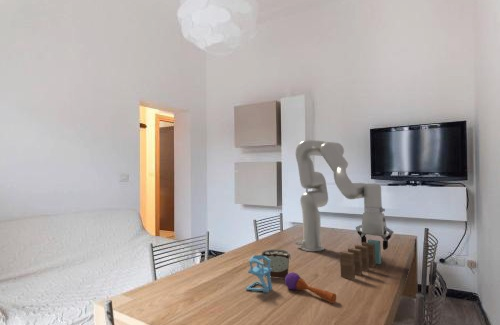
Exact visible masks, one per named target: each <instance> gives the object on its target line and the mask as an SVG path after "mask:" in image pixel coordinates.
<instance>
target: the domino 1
mask: <svg viewBox="0 0 500 325" xmlns="http://www.w3.org/2000/svg"><path fill="white" fill-rule="evenodd" d="M339 258H340V260H339V262H340V278H345V279H348V280H353V281H354V280H355V279H356V274H355V264H354V253H351V252H348V251H344V250H340V252H339Z"/></svg>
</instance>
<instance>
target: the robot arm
mask: <svg viewBox="0 0 500 325" xmlns="http://www.w3.org/2000/svg"><path fill="white" fill-rule="evenodd" d="M296 146H297V147H296V149H295V159H296V162H297V167H298V175H299V182H300V185H301V188H303V189H305V190H310V191H305V192H304V193H302V195H301V197H300V205H301V211H302V230H303V231H302V236H303V239H302V240H295V242H294V244H295V245H297V246H300V249H301V250H303V251H306V252H321V251H324V250H325V246H324V245H322V232H321V231H322V229H321V228H322V226H321V214H320V211H319V208H322V207H325V206H326V205H328V203H329V202H328V201H329V192H328V187H327V182H326V177H325V176H324V175H323V173H321V172H319V171H315V168H314V163H313V161H312V159H311V157H310V156H320V157H322V158H323V159H324V161H325V162H326V164H327V165H328V166H329V167H330V170H332V173H333V179H334V183H335V185H336V187H337V189H338V190H339V192H340V193H341V194H342V195H343V197H345V198H346V199H347V200H357V199H363V205H364V211H363V213H362V218H361V219H362V220H361V224H359V225H358V226H355V230H356V232H357V234H358V235H359V237H360V242H361V244H362V243H363V242H367V236H366V235H369V236H375V237H381V238H382V239H383V240H382V249H383V250H384V251H385V250H388V248H389V240H390V239H391V238H392V236H393V234H394V231H393V229H391V228H389V227H387V220H386V215H385V213H383V212H386V209H385V208H383V206H382V205H383V202H382V186H381V184H379V183H364V182H352V180H351V179H350V178H349V176H348V174H347V168H348V166H349V162H348V161H347V160H346V158H345V157H344V156H343V155H344V153H345V149H344V147H343V145H342V144H341V143H339V142H335V141H334V142H332V141H331V142H330V141H324V140H313V139H305V140H302V141H301V142H299V143H298V144H297V145H296ZM311 189H312V190H311ZM387 233H388V235H387Z"/></svg>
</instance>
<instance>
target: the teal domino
mask: <svg viewBox="0 0 500 325" xmlns="http://www.w3.org/2000/svg"><path fill="white" fill-rule="evenodd" d="M367 243H373V244H375V264H378V265H380V264H382V250H381V249H382V247H381V240H376V239H367Z"/></svg>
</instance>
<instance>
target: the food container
mask: <svg viewBox="0 0 500 325" xmlns="http://www.w3.org/2000/svg"><path fill="white" fill-rule="evenodd" d="M261 255H262V256H265V257H267V258H268V259H270V260H271V262H270V268H272V271H271V272H270V276H271V278H273V277H278V278H277V279H283V278H285V277H286V275H287V274H289V268H290V267H289V266H290V265H289V264H290V260H291V259H292V258H291V254H290V252H289V251H288V250H285V249H267V250H264V251H262V253H261ZM262 263H264V267H265V268H268V267H267V265H268V261H267V260H265V259H262ZM265 276H266V275H265ZM265 276H264V277H265Z"/></svg>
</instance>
